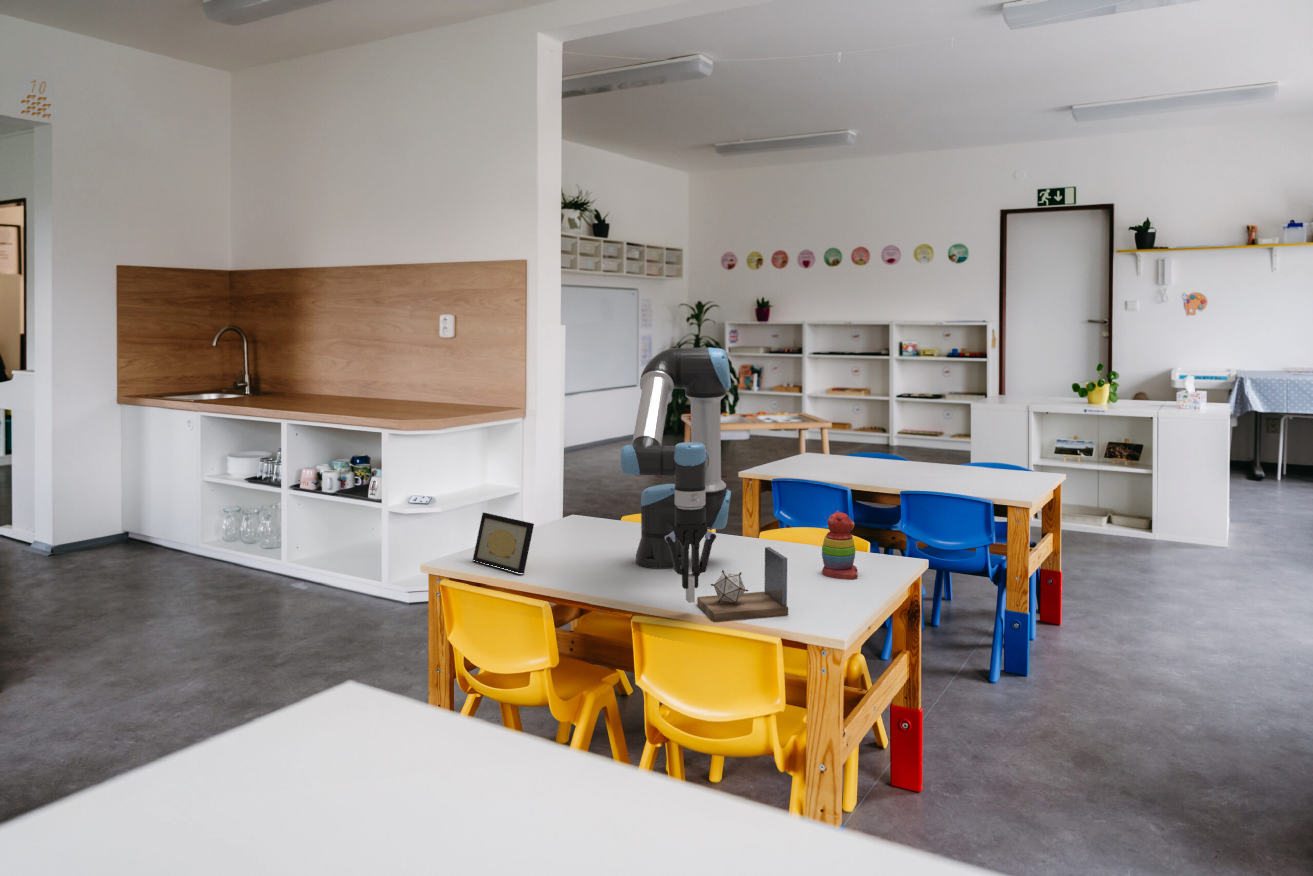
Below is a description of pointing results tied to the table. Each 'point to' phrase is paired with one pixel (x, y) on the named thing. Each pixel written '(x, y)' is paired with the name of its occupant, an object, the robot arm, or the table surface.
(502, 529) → the picture frame
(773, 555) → the bookend
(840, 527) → the stacking bear
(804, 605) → the table surface
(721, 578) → the game die
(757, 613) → the shelf plank
